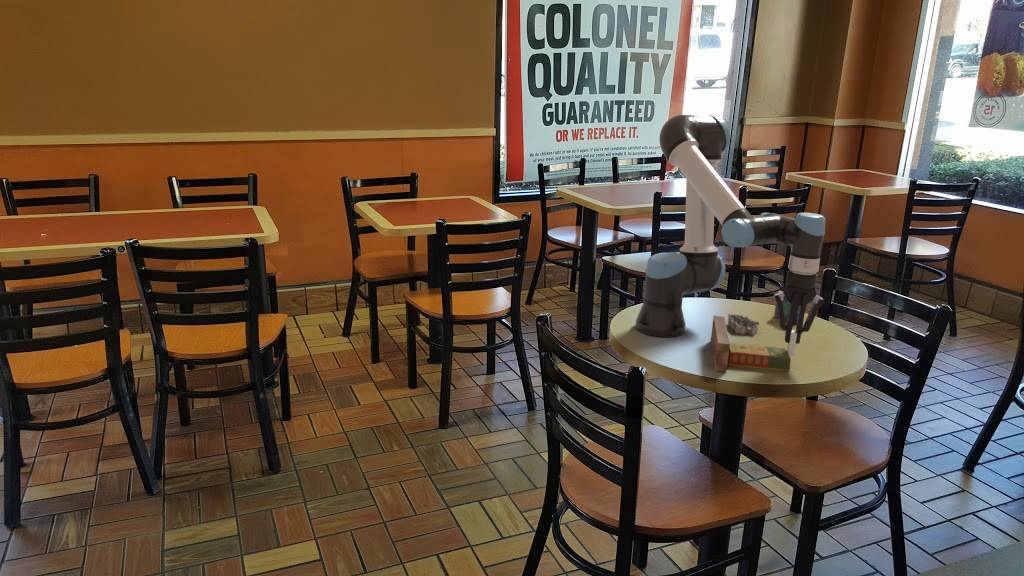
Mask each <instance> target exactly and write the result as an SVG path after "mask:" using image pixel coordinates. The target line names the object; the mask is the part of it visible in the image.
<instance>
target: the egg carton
mask: <svg viewBox="0 0 1024 576" xmlns="http://www.w3.org/2000/svg"><path fill="white" fill-rule="evenodd" d="M727 317H728V319H727V326H730V329H731V330H734V333H736V334H740V335H745V334H749V335H756V334H757V333H758V330H759V329H758V326H759V325H760V322H759V321H758V320H753V319H751V318H749V316H747V315H745V316H743V314H741V315H739V314H730V313H727ZM745 324H746V326H745Z"/></svg>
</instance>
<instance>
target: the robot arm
mask: <svg viewBox="0 0 1024 576" xmlns="http://www.w3.org/2000/svg"><path fill="white" fill-rule="evenodd" d="M730 141H731V130H730V128H729V126H728V124H727V123H726V121H725V120H724V119H723V118H722V117H720V116H717V115H712V114H711V115H710V114H677V115H675V116H672V117H670V118H669V119H668V120H667V121H665V123H663V126H662V127H661V130H660V132H659V145H660V150H661V152H662V154H663V155H664V157H665V158H666V160H667V161H668V162H669V164H670V165H671V166H673V167H675V166H676V168H678V170H679V171H680V172H681V174H682V175H683V177H684V178H685V179H686V184H685V185H686V186H685V187H686V188H685V189H686V190H685V194H686V195H685V217H684V218H685V219H684V220H685V221H684V222H685V223H684V224H685V225H684V228H685V229H684V244H683V245H682V246H681V247H680V248H679V252H674V251H673V252H672V251H670V252H658V253H655V254H653V255H651V256H650V257H649V258H648V259H647V262H646V268H645V279H644V291H643V302H642V303H643V304H642V305H641V307H640V310H639V312H638V315H637V317H636V319H635V325H634V326H635V329H636V330H637V331H638V332H640V333H642V334H646V335H648V336H654V337H659V338H675V337H680V336H682V335H684V334H685V333H686V319H685V317H684V312H683V299H684V298H683V297H684V295H689V294H695V293H696V294H697V293H706V292H709V291H711V290H714V289H716V288H717V287H718V288H719V286H720V285H721V284H722V282H723V281H724V278H725V275H726V264H725V262H724V261H723V258H722V257H721V256H720V255H719V249H718V248H717V247H716V246H715V245H714V234H715V233H714V232H715V231H714V228H715V226H714V225H715V218H716V219H717V221H718V222H719V223H720V224H721V226H722V228H721V236H722V240H723V242H724V243H725V244H726V245H727V246H728V247H730V248H746V247H751V246H752V247H753V246H757V245H758V246H759V245H760V246H761V245H767V244H780V245H784V246H788V247H790V256H789V262H788V269H789V270H788V271H787V275H786V281H785V285H784V287H783V289H782V290H781V291H782V292H780V293H777V292H775V293H773V298H774V300H775V302H776V301H777V308H778V316H779V319H778V323H779V327H780V329H781V330H784V331H785V333H784V342H785V343H787V347H786V351H787V353H788V355H789V357H790V356H792V357H793V356H795V351H796V350H795V348H796V344H797V345H799V344H800V342H801V336H802V334H803V333H808V332H809V331H810V329H811V328H812V325H813V323H814V320H815V318H816V315H817V314H818V311H819V309H820V307H821V306H823V304H824V303H825V300H824V299H823V297H822V296H820V295H818V294H817V291H816V287H817V281H818V274H817V273H819V267H820V261H821V252H822V249H823V242H824V237H825V234H826V231H825V230H826V229H825V228H826V217H825V216H824V215H822V214H818V213H812V212H799V213H797V214H796V215H795V218H794V217H790V216H785V215H782V214H777V213H775V212H773V213H771V212H762V213H759V215H758V216H754V217H753V216H752V215H751V213H750V212H749V211H748V210H747V209H746V207H745V205H743V203H742V202H741V201H740V200H739V198H738V197H737V196H736V194H735V193H734V192H733V191H732V190H731V188H730V187H729V186H728V184H727V183H726V182H725V181H724V179H723V178H722V177H721V175H719V173H718V172H717V165H718V164H719V163H720V162H721V161H722V154H723V153H724V152H726V150H727V148H728V147H729V145H730V143H731V142H730ZM784 295H785V296H786V298H787V300H788V301H789V311H788V317H787V322H785V320H784V311H783V303H782V300H783V299H784V298H783V297H784ZM811 301H813V304H812V306H811V308H810V310H809V312H808V315H807V317H806V319H805V315H806V314H805V313H806V310H807V306H808V304H810V303H811ZM796 305H799V309H798V317H797V324H796V325H795V329H793V326H794V325H793V320H794V314H795V309H796ZM804 320H805V321H804Z"/></svg>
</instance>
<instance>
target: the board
mask: <svg viewBox="0 0 1024 576" xmlns="http://www.w3.org/2000/svg"><path fill="white" fill-rule="evenodd" d="M725 318H726V317H725V316H724V315H723V316H721V315H713V318H712V319H713V320H712V326H711V327H712V328H711V334H710V335H711V336H710V347H711V355H712V362H713V370H714V371H713V372H719V373H727V368H728V354H729V347H730V343H731V342H730V338H729V333H728V328H727V323H726V319H725Z"/></svg>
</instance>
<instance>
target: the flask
mask: <svg viewBox="0 0 1024 576" xmlns="http://www.w3.org/2000/svg"><path fill="white" fill-rule="evenodd" d="M782 291H783V290H778V291H777V292H776V293H780V292H782ZM783 298H784V299H783V300H782V303H783V311H784V320H785V323H787V317H788V311H789V301H788V300H787V298H786V296H785V295H784V297H783ZM798 311H799V305H796V309H795V314H794V320H793V326H796V324H797V317H798ZM773 318H775V319H776V318H777V320H779V316H778V308H777V301H776V300H775V307H774V314H773Z"/></svg>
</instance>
